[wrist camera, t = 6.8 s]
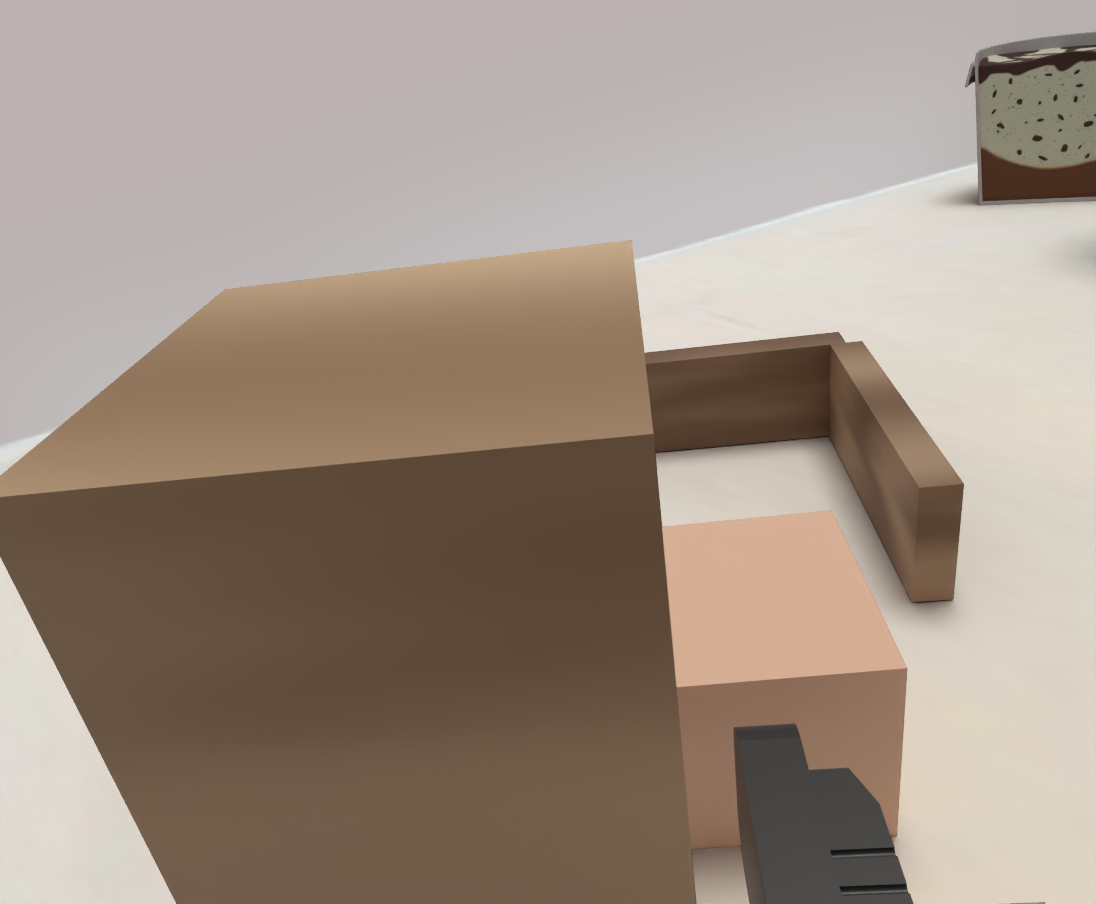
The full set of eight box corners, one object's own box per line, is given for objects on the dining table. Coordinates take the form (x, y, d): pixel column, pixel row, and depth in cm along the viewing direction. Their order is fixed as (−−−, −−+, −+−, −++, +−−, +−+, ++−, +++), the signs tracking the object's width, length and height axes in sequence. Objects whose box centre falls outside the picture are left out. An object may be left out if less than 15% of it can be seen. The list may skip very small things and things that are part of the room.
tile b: (896, 839, 20) (907, 668, 18) (629, 856, 21) (606, 693, 18) (830, 659, 25) (832, 510, 23) (619, 676, 26) (600, 532, 24)
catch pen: (953, 599, 27) (964, 484, 25) (298, 647, 29) (263, 545, 27) (851, 420, 37) (854, 330, 36) (380, 465, 40) (359, 383, 38)
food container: (1146, 176, 64) (1172, 22, 59) (1161, 197, 59) (1191, 31, 54) (956, 185, 68) (967, 43, 64) (955, 206, 63) (967, 53, 59)
